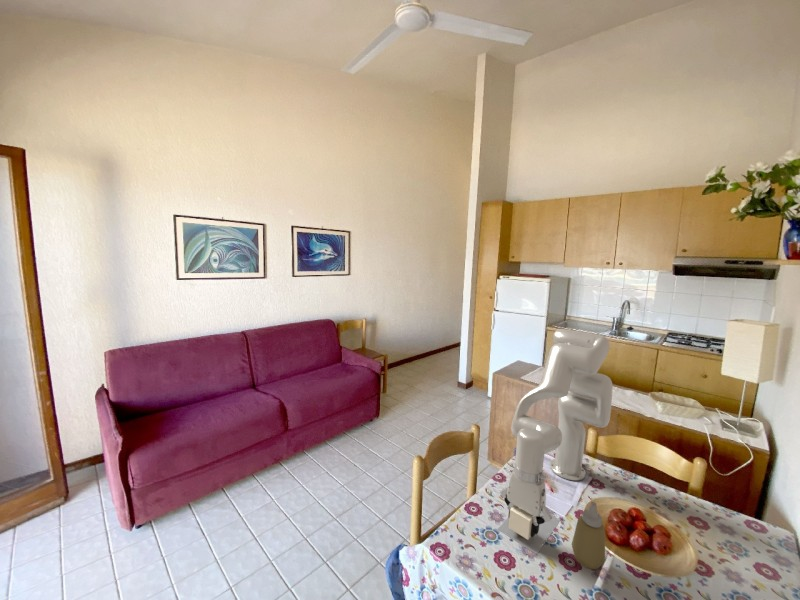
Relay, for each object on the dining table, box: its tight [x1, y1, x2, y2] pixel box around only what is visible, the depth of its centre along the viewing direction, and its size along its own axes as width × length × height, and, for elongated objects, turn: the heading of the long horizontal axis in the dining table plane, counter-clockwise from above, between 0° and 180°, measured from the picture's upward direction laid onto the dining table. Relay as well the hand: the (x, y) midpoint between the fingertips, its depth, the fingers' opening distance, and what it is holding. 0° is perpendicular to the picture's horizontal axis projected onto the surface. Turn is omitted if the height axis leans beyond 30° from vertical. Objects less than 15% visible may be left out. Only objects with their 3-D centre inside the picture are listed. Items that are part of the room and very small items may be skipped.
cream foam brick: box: [509, 505, 533, 540], centre depth 101 cm, size 6×6×6 cm
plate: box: [497, 511, 561, 555], centre depth 106 cm, size 18×12×1 cm, turn 135°
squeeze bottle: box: [571, 501, 606, 570], centre depth 93 cm, size 8×8×18 cm
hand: (522, 526), depth 102 cm, fingers closed on cream foam brick, 5 cm apart
